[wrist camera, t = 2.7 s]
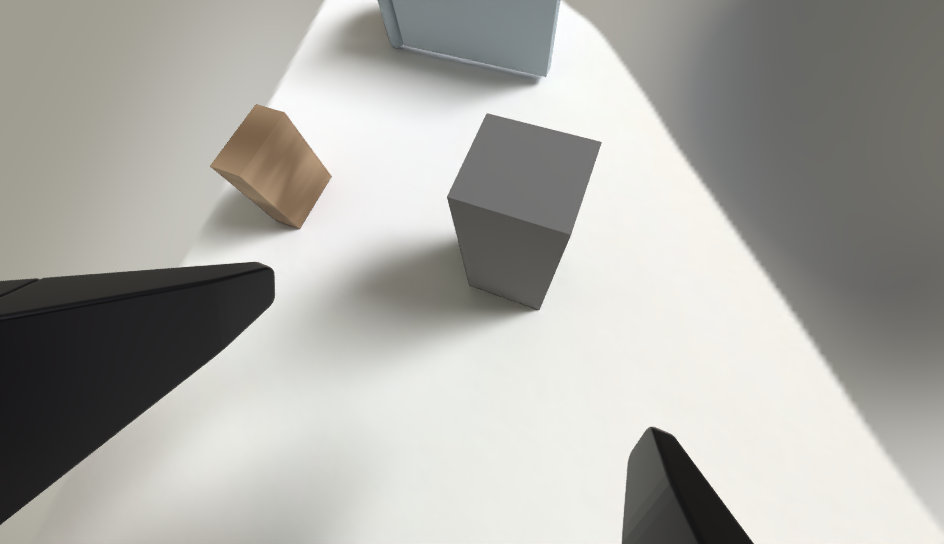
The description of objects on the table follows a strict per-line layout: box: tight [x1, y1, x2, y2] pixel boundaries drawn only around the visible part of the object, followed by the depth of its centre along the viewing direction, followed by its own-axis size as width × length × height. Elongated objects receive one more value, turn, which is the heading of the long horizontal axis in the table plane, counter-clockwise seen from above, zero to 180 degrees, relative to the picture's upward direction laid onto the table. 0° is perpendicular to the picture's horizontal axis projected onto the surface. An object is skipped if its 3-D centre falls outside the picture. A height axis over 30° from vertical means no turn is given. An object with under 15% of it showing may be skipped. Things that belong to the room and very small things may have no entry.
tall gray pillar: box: [447, 114, 602, 310], centre depth 17 cm, size 4×4×10 cm
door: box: [378, 0, 560, 77], centre depth 26 cm, size 14×3×6 cm, turn 69°
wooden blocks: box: [210, 105, 332, 229], centre depth 25 cm, size 23×2×6 cm, turn 159°
